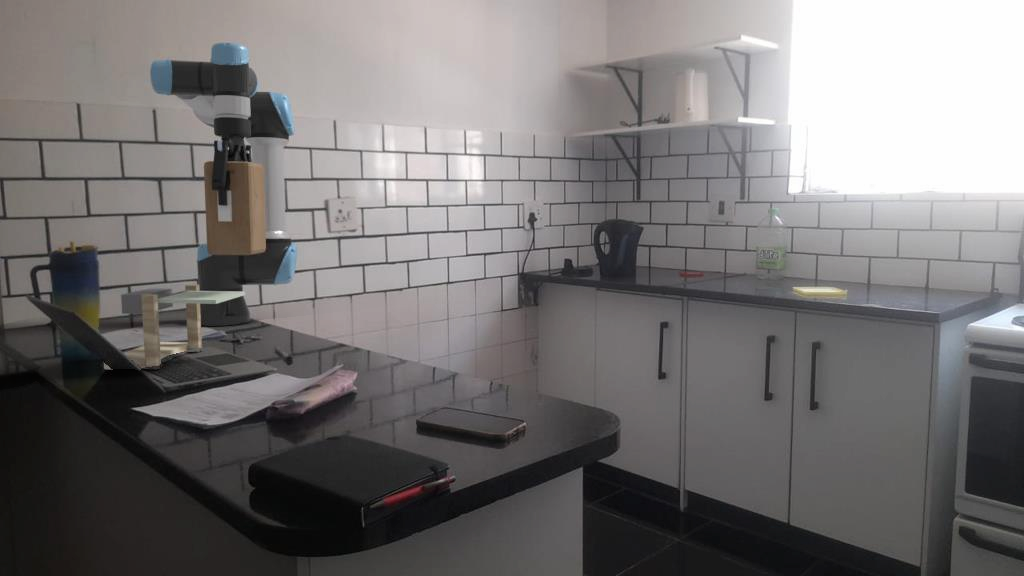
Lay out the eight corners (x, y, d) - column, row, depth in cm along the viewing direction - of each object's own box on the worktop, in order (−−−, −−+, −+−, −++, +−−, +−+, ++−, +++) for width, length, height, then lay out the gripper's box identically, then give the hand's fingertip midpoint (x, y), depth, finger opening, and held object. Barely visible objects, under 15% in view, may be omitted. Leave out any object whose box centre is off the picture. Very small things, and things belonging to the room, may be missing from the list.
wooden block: (252, 255, 157) (248, 161, 154) (205, 255, 157) (201, 160, 154) (267, 252, 167) (264, 163, 164) (223, 252, 167) (220, 163, 164)
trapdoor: (154, 305, 165) (153, 287, 165) (245, 306, 164) (244, 288, 163) (117, 314, 151) (116, 295, 151) (216, 316, 150) (215, 297, 149)
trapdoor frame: (154, 350, 169) (151, 283, 167) (202, 351, 168) (199, 284, 166) (104, 369, 150) (99, 294, 148) (157, 370, 149) (153, 295, 148)
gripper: (236, 123, 170) (240, 219, 172) (190, 111, 147) (194, 221, 150) (268, 123, 169) (271, 220, 172) (226, 111, 147) (230, 222, 149)
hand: (235, 220), depth 161 cm, fingers closed on wooden block, 10 cm apart
